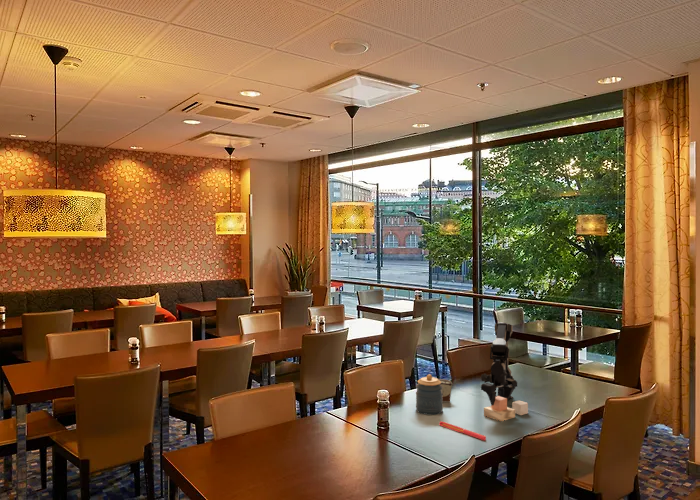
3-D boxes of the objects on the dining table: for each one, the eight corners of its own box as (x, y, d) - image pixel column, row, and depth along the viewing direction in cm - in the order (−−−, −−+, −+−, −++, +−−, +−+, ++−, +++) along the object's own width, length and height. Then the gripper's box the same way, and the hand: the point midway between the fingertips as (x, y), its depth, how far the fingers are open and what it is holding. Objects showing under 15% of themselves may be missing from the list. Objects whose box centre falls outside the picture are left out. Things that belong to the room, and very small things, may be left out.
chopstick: (443, 426, 235) (437, 425, 232) (444, 421, 235) (438, 420, 232) (488, 441, 216) (482, 441, 214) (489, 436, 217) (483, 435, 214)
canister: (446, 408, 255) (445, 372, 255) (438, 416, 244) (438, 379, 243) (420, 405, 261) (420, 369, 260) (412, 413, 249) (412, 376, 249)
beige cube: (519, 410, 252) (519, 400, 252) (527, 413, 248) (527, 403, 247) (512, 412, 249) (512, 402, 249) (520, 415, 245) (520, 404, 245)
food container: (451, 398, 272) (451, 379, 271) (452, 401, 266) (452, 382, 265) (427, 397, 273) (427, 378, 273) (428, 401, 267) (428, 381, 267)
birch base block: (497, 412, 251) (497, 403, 251) (515, 418, 242) (515, 409, 242) (483, 416, 245) (483, 407, 245) (501, 422, 237) (501, 413, 237)
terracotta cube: (498, 406, 247) (498, 395, 247) (507, 409, 243) (507, 398, 243) (491, 408, 244) (491, 397, 244) (499, 411, 240) (499, 400, 240)
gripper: (499, 364, 255) (499, 395, 255) (472, 369, 245) (472, 402, 245) (518, 368, 246) (518, 401, 246) (490, 374, 236) (490, 408, 236)
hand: (499, 403), depth 244 cm, fingers open, 9 cm apart
